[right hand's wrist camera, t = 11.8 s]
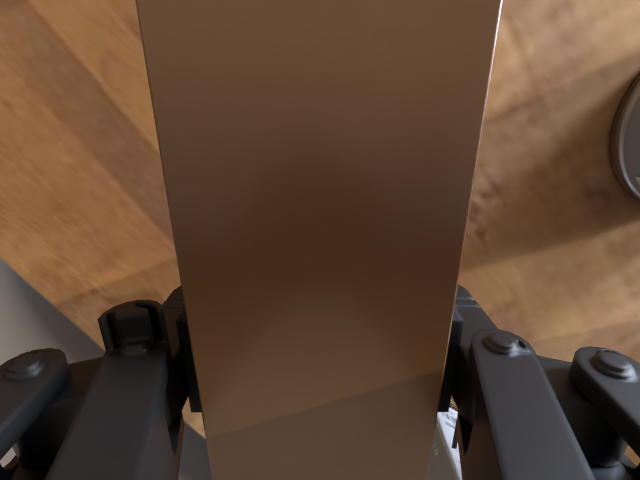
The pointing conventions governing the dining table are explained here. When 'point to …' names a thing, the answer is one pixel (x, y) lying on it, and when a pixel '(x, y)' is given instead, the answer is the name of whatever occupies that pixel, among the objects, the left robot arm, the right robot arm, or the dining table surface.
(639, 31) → the dining table surface
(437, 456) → the hard drive box
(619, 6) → the dining table surface
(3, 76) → the dining table surface
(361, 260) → the bar
